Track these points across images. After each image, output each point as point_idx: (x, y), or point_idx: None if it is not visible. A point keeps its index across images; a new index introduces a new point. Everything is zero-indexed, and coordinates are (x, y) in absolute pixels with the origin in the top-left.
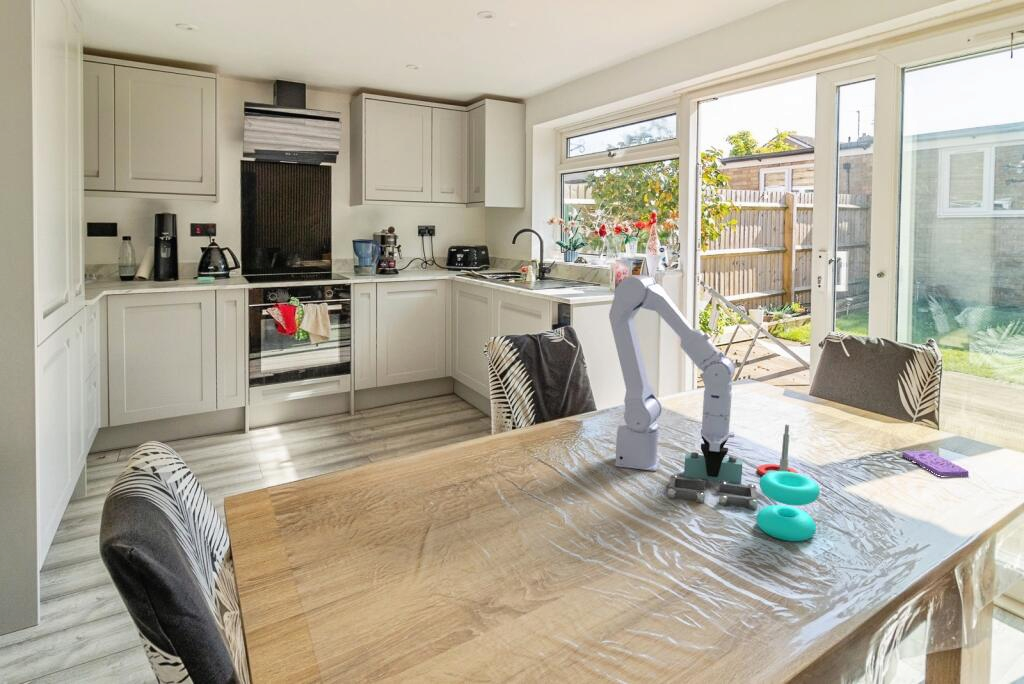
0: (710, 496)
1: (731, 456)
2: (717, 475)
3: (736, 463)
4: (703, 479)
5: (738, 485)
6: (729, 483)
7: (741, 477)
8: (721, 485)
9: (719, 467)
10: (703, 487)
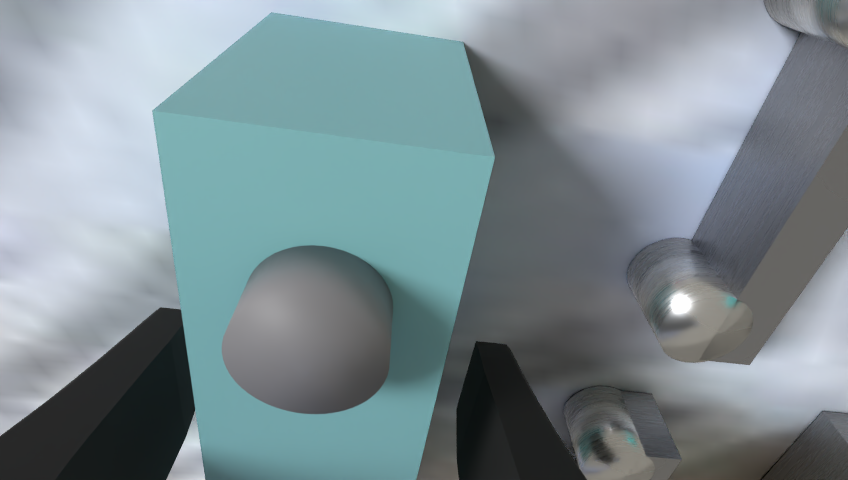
0: (776, 367)
1: (236, 369)
2: (516, 361)
3: (438, 260)
4: (616, 462)
5: (841, 189)
6: (751, 278)
7: (469, 66)
8: (752, 342)
9: (564, 451)
10: (657, 419)
